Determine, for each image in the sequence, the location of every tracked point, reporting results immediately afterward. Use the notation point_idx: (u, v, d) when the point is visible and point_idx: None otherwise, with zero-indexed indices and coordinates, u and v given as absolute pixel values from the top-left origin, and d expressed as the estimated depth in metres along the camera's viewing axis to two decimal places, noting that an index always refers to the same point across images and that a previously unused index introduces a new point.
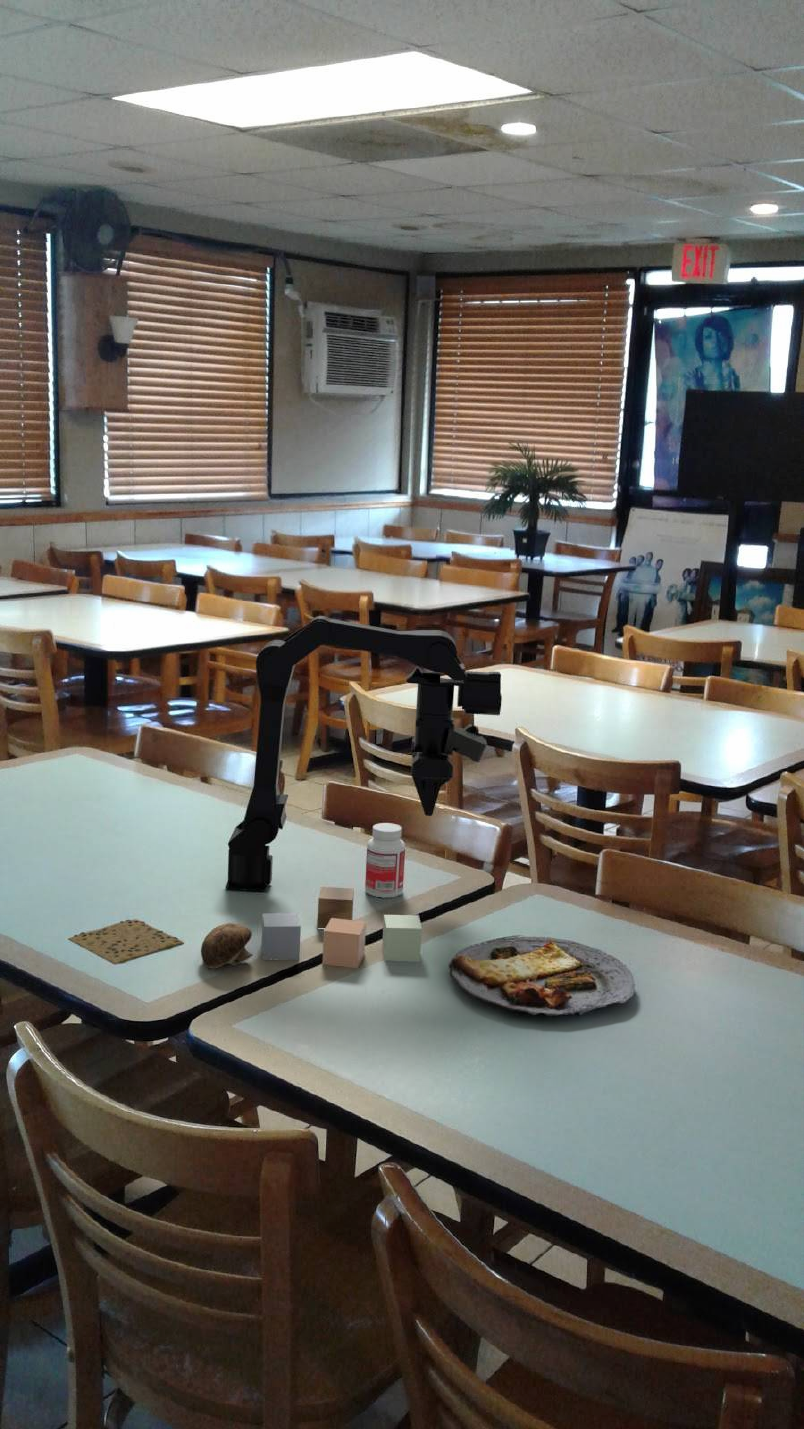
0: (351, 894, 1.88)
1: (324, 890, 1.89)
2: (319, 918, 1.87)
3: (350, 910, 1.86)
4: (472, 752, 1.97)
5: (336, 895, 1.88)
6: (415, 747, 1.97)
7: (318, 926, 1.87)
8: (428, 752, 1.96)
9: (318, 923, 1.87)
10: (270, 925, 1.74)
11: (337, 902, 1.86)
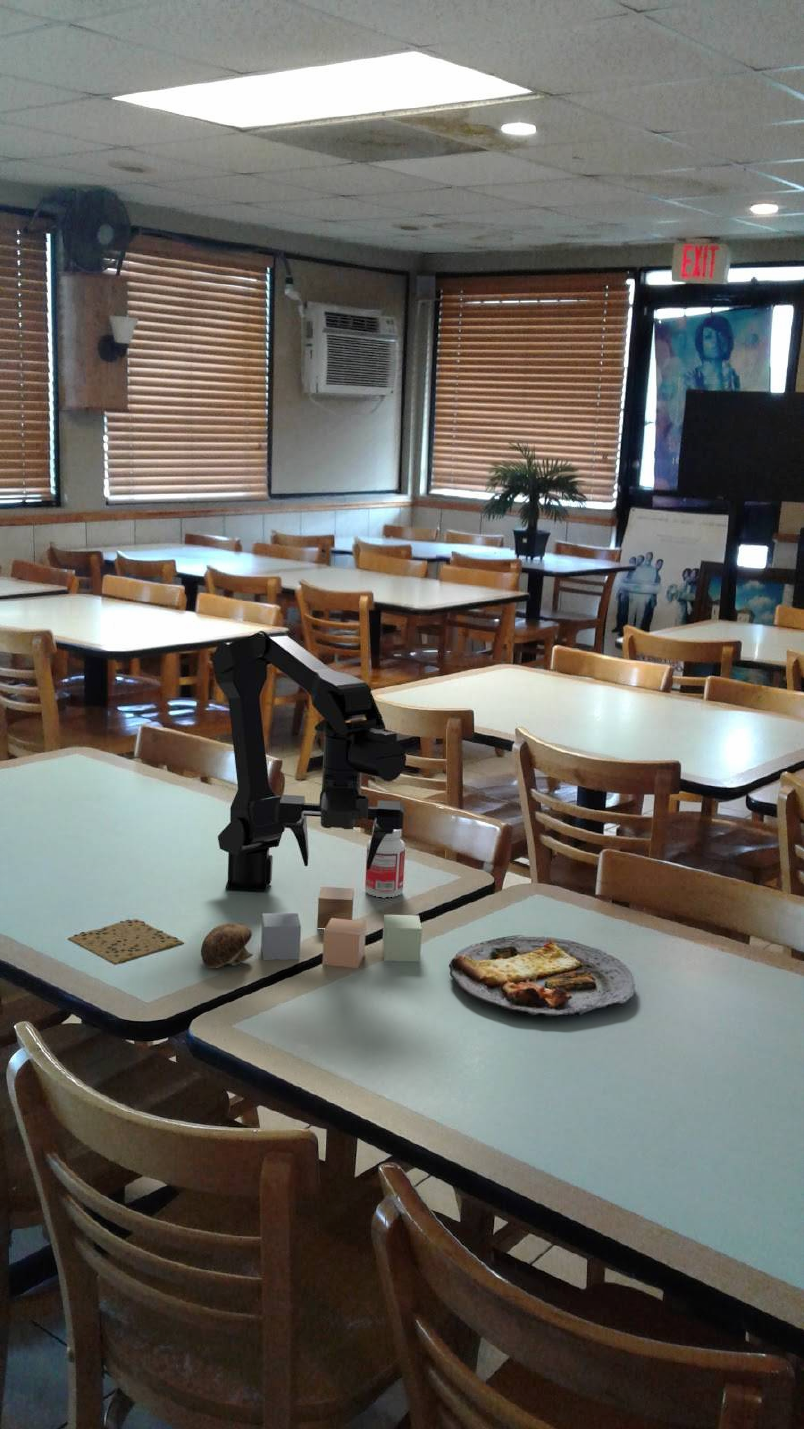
0: (351, 894, 1.88)
1: (324, 890, 1.89)
2: (319, 918, 1.87)
3: (350, 910, 1.86)
4: None
5: (336, 895, 1.88)
6: None
7: (318, 926, 1.87)
8: None
9: (318, 923, 1.87)
10: (270, 925, 1.74)
11: (337, 902, 1.86)
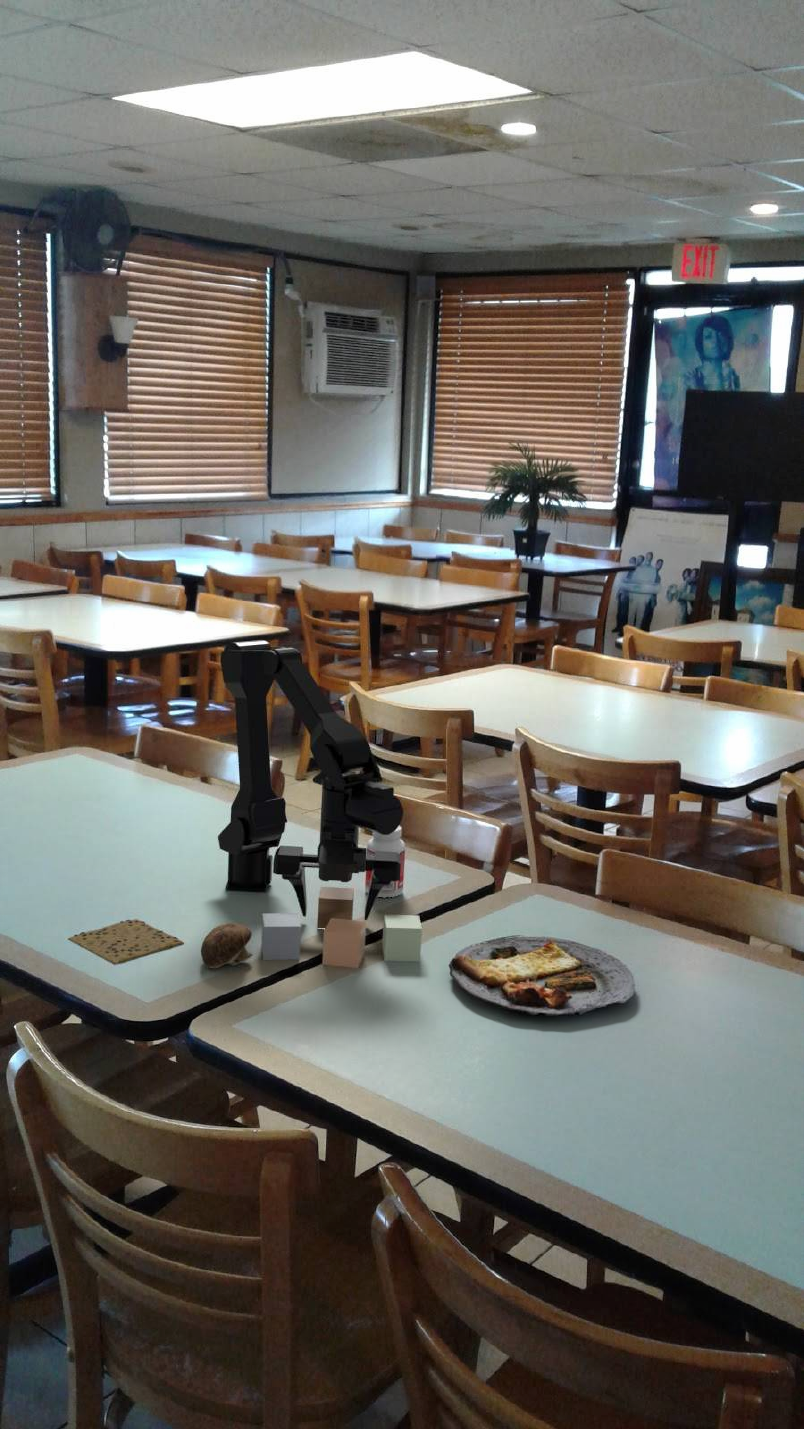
0: (351, 894, 1.88)
1: (325, 890, 1.89)
2: (319, 918, 1.87)
3: (350, 910, 1.86)
4: None
5: (336, 895, 1.88)
6: None
7: (318, 926, 1.87)
8: None
9: (318, 923, 1.87)
10: (270, 925, 1.74)
11: (337, 902, 1.86)
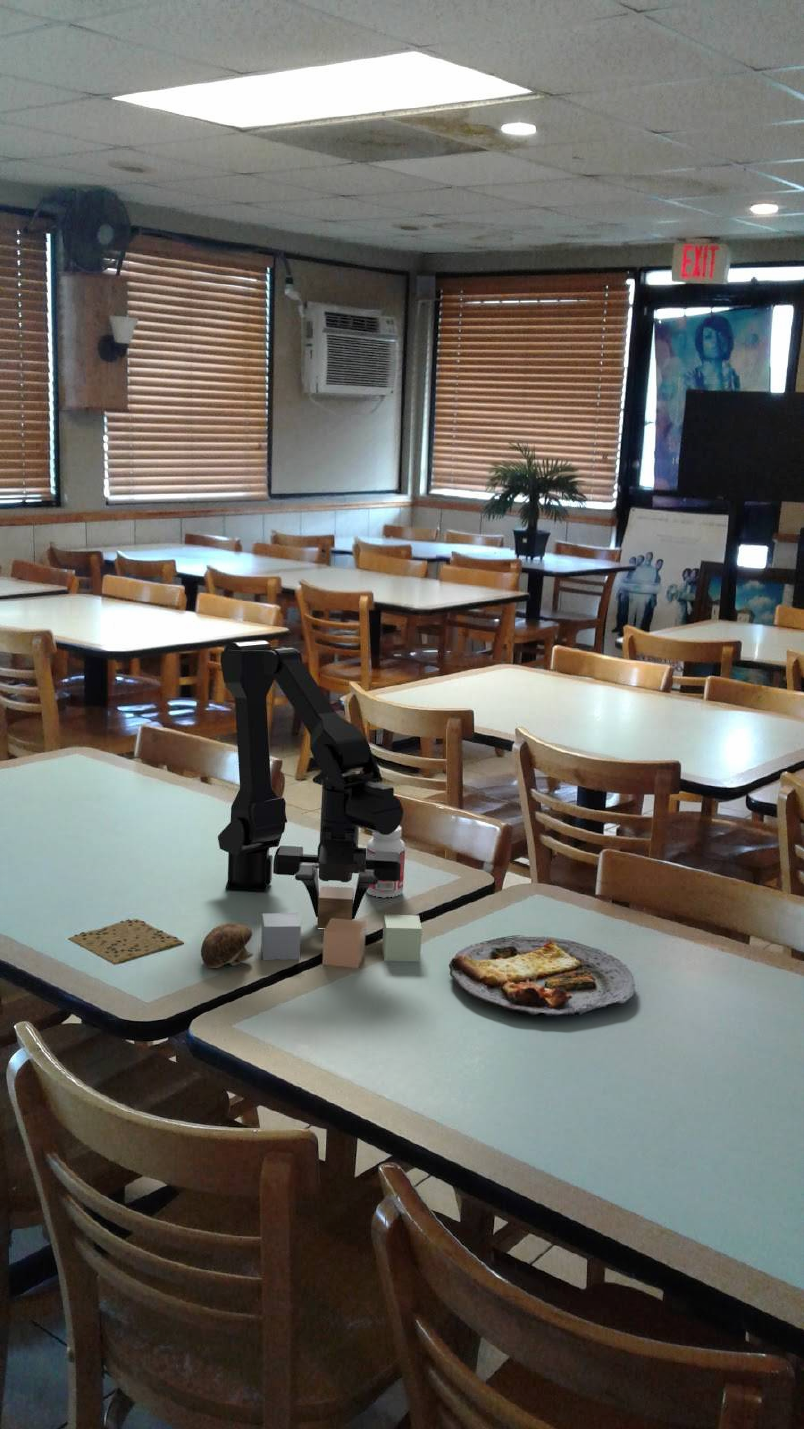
0: (351, 893, 1.88)
1: (324, 889, 1.89)
2: (319, 917, 1.87)
3: (350, 909, 1.86)
4: None
5: (336, 894, 1.88)
6: None
7: (318, 925, 1.87)
8: None
9: (318, 922, 1.87)
10: (270, 925, 1.74)
11: (337, 902, 1.86)
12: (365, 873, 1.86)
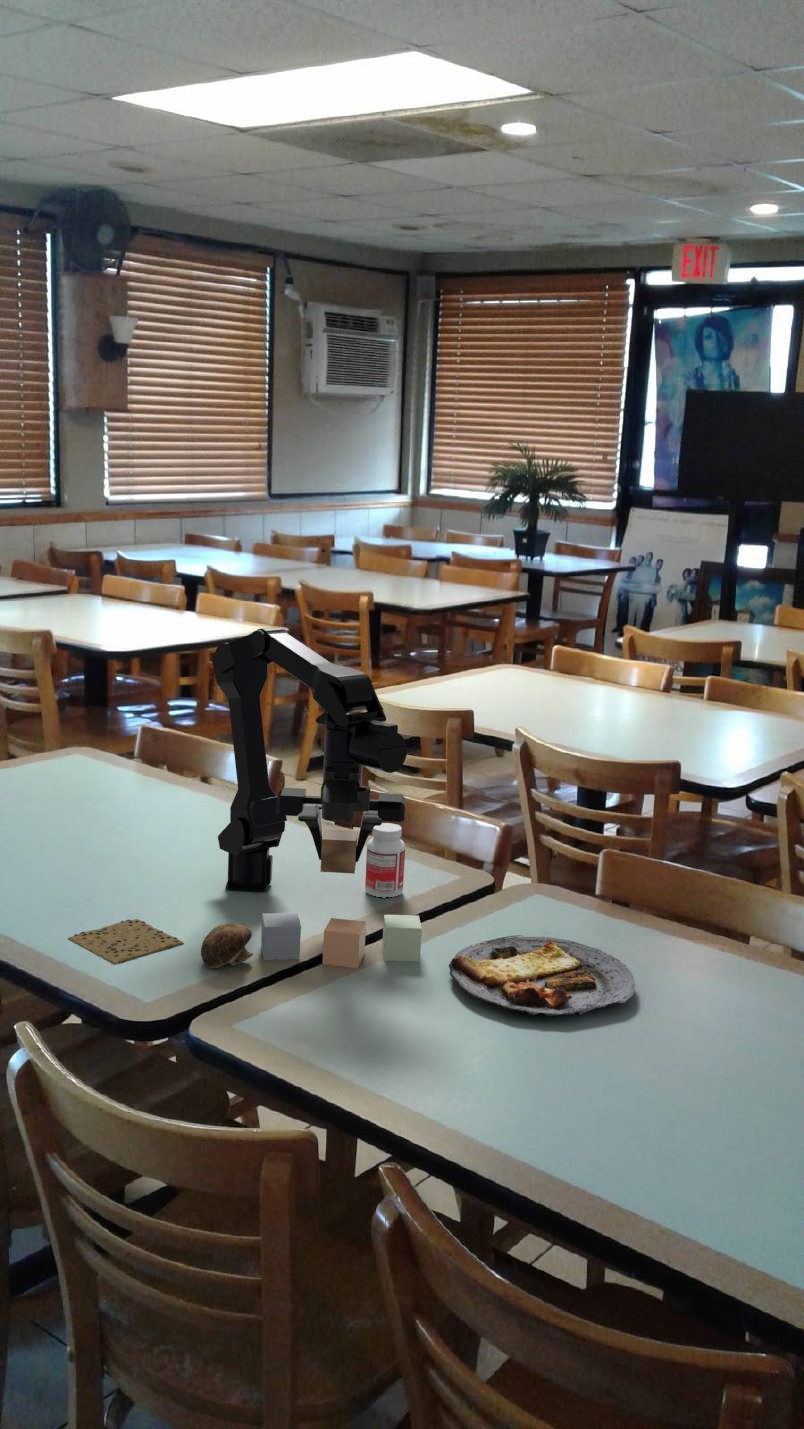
0: (355, 836, 1.86)
1: (328, 832, 1.87)
2: (322, 859, 1.85)
3: (354, 851, 1.84)
4: None
5: (339, 836, 1.86)
6: None
7: (321, 868, 1.85)
8: None
9: (321, 864, 1.85)
10: (270, 925, 1.74)
11: (341, 843, 1.84)
12: (369, 814, 1.84)
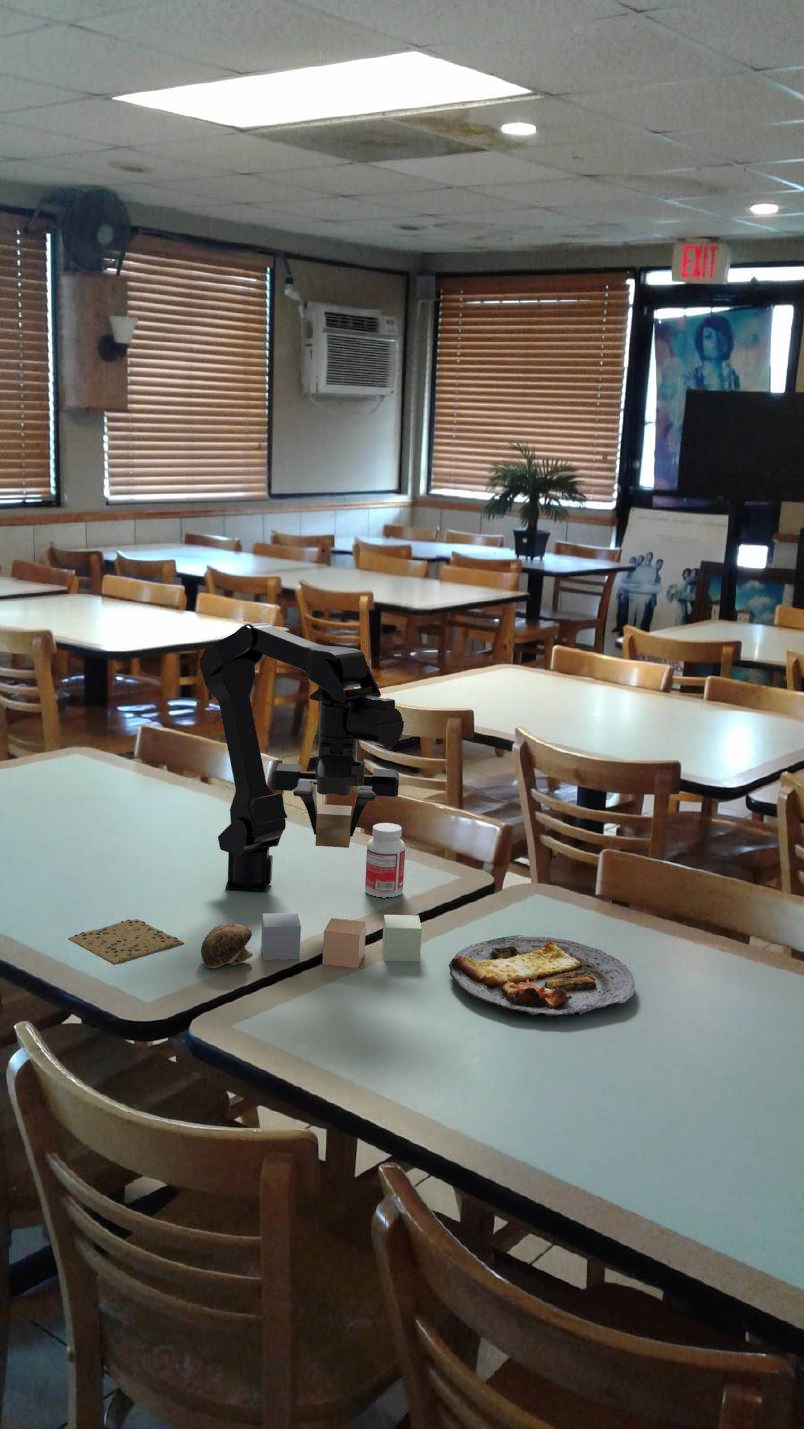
0: (349, 810, 1.89)
1: (323, 807, 1.90)
2: (317, 834, 1.87)
3: (348, 826, 1.87)
4: None
5: (334, 811, 1.88)
6: None
7: (316, 842, 1.87)
8: None
9: (316, 839, 1.87)
10: (270, 925, 1.74)
11: (336, 818, 1.87)
12: (363, 789, 1.87)
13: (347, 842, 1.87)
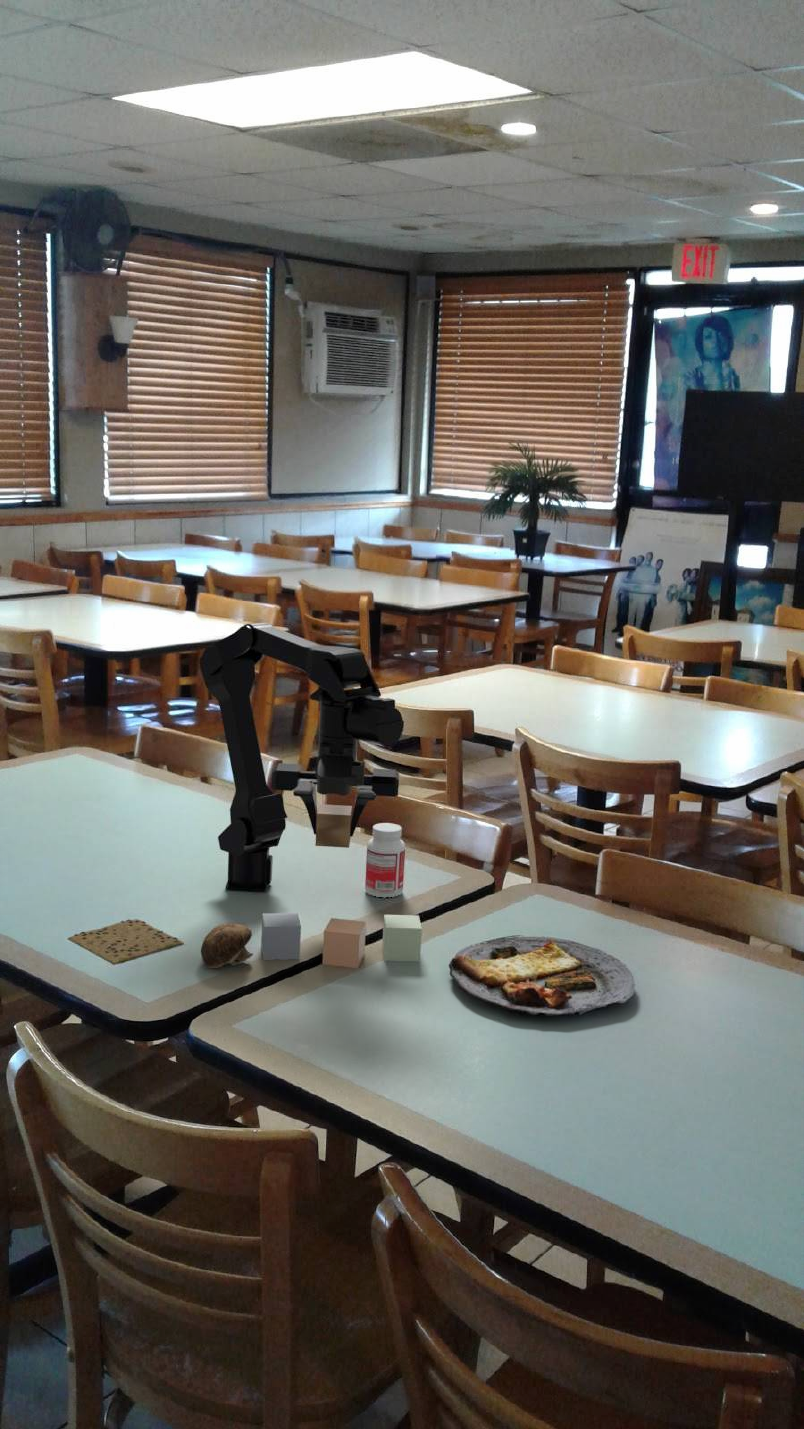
0: (349, 810, 1.89)
1: (323, 807, 1.90)
2: (317, 834, 1.87)
3: (348, 825, 1.87)
4: None
5: (334, 811, 1.88)
6: None
7: (316, 842, 1.87)
8: None
9: (316, 839, 1.87)
10: (270, 925, 1.74)
11: (336, 818, 1.87)
12: (363, 789, 1.87)
13: (347, 842, 1.87)
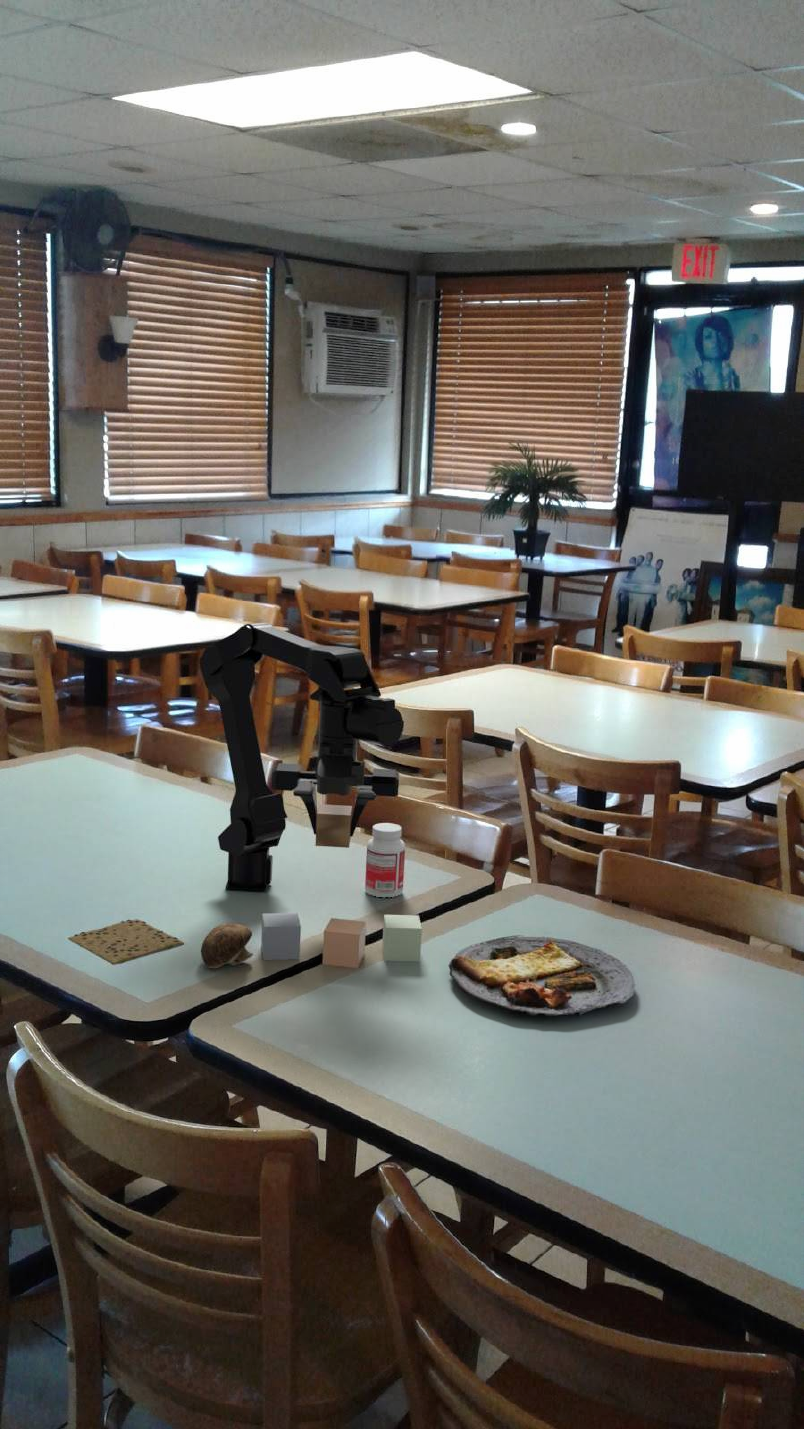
0: (349, 810, 1.89)
1: (323, 807, 1.90)
2: (317, 834, 1.87)
3: (348, 825, 1.87)
4: None
5: (334, 811, 1.88)
6: None
7: (316, 842, 1.87)
8: None
9: (316, 839, 1.87)
10: (270, 925, 1.74)
11: (336, 818, 1.87)
12: (363, 789, 1.87)
13: (347, 842, 1.87)
